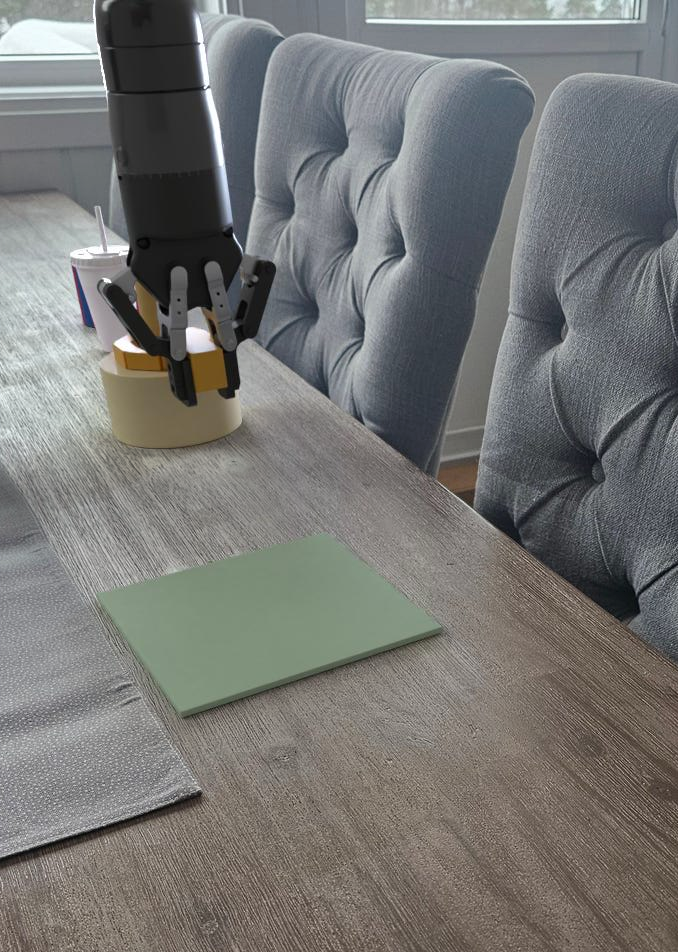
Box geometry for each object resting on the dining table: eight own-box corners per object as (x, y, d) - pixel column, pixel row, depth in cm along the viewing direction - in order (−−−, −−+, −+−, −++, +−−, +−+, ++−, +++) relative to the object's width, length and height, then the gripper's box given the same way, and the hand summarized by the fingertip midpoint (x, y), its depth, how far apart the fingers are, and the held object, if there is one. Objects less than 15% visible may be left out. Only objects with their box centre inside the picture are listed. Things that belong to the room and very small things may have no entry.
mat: (181, 718, 59) (180, 712, 59) (96, 599, 71) (95, 593, 71) (442, 632, 66) (442, 626, 66) (326, 536, 78) (326, 531, 78)
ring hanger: (101, 348, 97) (94, 313, 95) (188, 333, 100) (183, 299, 99) (163, 400, 85) (156, 360, 83) (259, 381, 88) (255, 342, 87)
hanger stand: (135, 458, 91) (100, 281, 84) (97, 420, 99) (62, 255, 92) (261, 430, 96) (238, 260, 89) (215, 396, 104) (191, 237, 97)
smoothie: (118, 359, 115) (89, 214, 107) (76, 350, 118) (45, 208, 110) (164, 343, 119) (140, 203, 112) (123, 335, 122) (96, 198, 115)
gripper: (243, 145, 85) (271, 372, 94) (56, 164, 79) (106, 404, 88) (283, 156, 79) (308, 396, 89) (85, 177, 73) (135, 432, 83)
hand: (207, 399), depth 88 cm, fingers closed on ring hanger, 2 cm apart
